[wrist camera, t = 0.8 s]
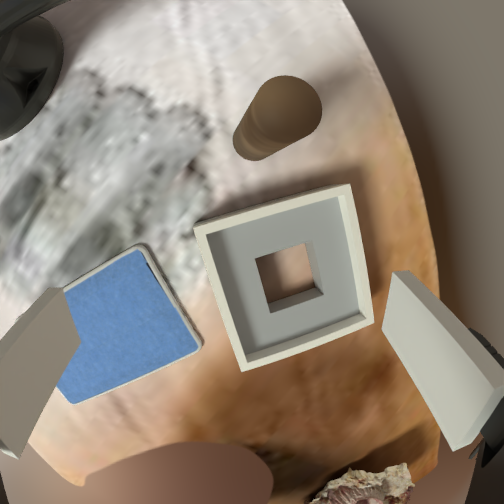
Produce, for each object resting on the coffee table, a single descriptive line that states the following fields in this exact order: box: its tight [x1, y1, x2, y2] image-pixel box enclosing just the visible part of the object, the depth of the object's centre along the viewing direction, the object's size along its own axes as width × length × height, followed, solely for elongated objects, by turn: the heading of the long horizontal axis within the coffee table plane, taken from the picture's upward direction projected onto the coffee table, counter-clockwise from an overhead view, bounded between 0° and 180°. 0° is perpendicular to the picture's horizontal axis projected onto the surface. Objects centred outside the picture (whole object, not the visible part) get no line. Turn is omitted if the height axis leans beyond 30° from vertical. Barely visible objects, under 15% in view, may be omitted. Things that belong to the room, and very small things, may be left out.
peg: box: [233, 76, 322, 161], centre depth 22 cm, size 4×4×12 cm
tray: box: [193, 184, 374, 372], centre depth 29 cm, size 14×14×4 cm
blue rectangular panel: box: [15, 245, 202, 405], centre depth 29 cm, size 19×13×1 cm, turn 116°
